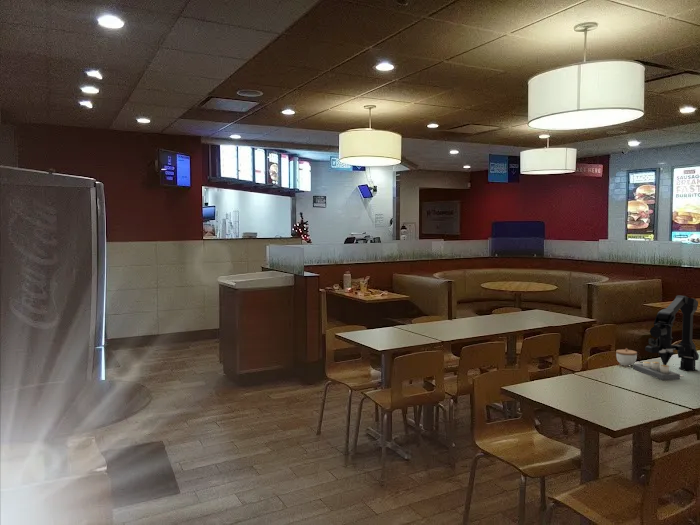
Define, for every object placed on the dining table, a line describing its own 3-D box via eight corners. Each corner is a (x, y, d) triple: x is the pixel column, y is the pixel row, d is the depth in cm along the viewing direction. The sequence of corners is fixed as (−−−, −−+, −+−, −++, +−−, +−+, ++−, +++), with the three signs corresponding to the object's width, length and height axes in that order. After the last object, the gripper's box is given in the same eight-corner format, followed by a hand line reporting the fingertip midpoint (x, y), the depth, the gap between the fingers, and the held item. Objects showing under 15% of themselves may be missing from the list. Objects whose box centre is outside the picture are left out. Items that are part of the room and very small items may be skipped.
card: (664, 369, 307) (664, 368, 307) (683, 376, 292) (683, 375, 292) (655, 369, 306) (655, 369, 306) (674, 376, 291) (674, 376, 291)
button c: (665, 372, 293) (665, 364, 293) (670, 374, 289) (670, 366, 289) (658, 372, 293) (658, 364, 293) (663, 374, 289) (663, 366, 289)
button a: (648, 368, 307) (648, 361, 307) (652, 370, 303) (652, 363, 303) (641, 369, 307) (641, 361, 307) (646, 370, 303) (646, 363, 303)
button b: (656, 369, 300) (656, 361, 300) (661, 370, 296) (661, 363, 296) (649, 369, 300) (649, 361, 299) (654, 371, 296) (654, 363, 296)
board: (649, 367, 311) (649, 363, 310) (679, 379, 287) (680, 374, 287) (632, 368, 309) (632, 364, 309) (662, 380, 286) (662, 375, 285)
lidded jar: (611, 363, 321) (611, 347, 321) (624, 361, 326) (624, 346, 325) (627, 367, 311) (628, 351, 311) (641, 365, 316) (641, 349, 315)
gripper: (671, 332, 299) (670, 360, 300) (638, 333, 297) (638, 362, 298) (685, 335, 288) (685, 365, 289) (652, 337, 286) (652, 367, 287)
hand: (664, 364), depth 291 cm, fingers closed
